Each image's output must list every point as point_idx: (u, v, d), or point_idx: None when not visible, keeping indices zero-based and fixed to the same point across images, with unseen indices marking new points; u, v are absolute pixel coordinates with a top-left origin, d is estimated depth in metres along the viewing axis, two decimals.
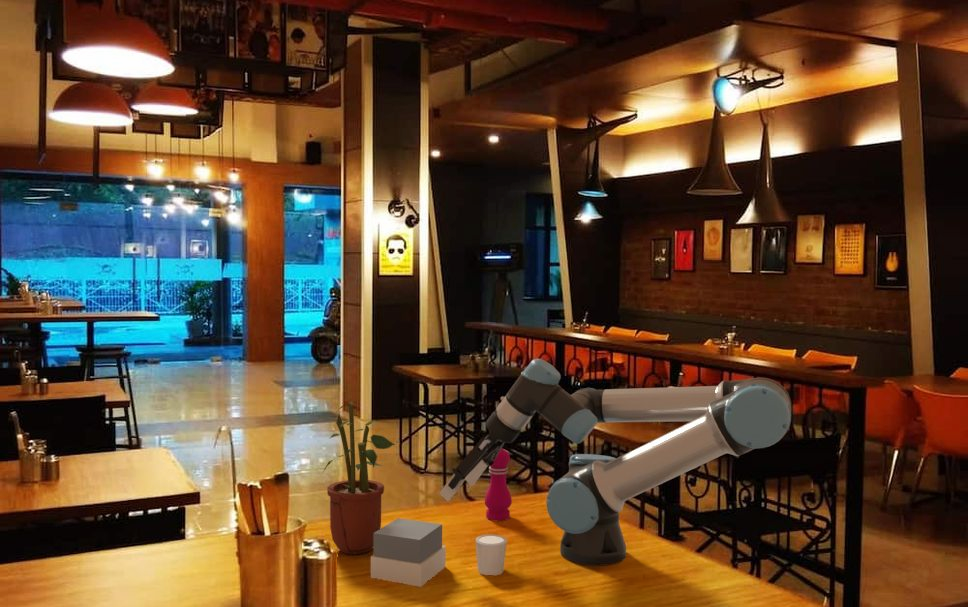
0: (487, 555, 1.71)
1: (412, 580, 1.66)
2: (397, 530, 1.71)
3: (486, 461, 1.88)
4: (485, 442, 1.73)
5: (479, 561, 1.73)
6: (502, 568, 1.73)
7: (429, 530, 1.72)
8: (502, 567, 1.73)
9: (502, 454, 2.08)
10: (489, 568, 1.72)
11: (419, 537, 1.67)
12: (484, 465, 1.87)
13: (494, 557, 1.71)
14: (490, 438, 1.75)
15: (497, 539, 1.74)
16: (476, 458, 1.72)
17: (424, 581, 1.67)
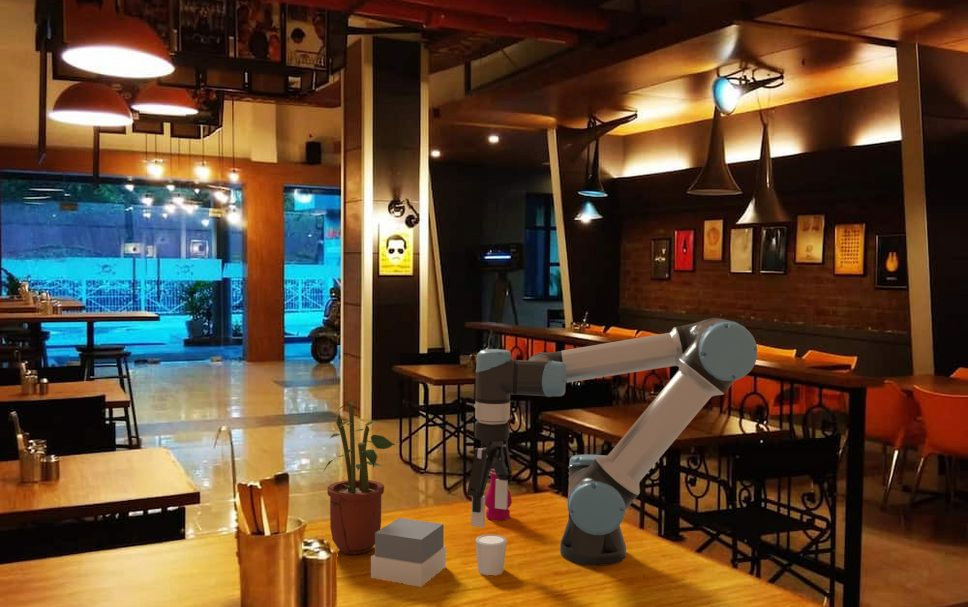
0: (487, 555, 1.71)
1: (412, 580, 1.66)
2: (398, 530, 1.71)
3: (504, 478, 1.80)
4: (480, 449, 1.67)
5: (479, 561, 1.73)
6: (502, 568, 1.73)
7: (430, 530, 1.72)
8: (502, 567, 1.73)
9: None
10: (489, 568, 1.72)
11: (420, 536, 1.67)
12: (504, 482, 1.79)
13: (494, 557, 1.71)
14: (484, 445, 1.70)
15: (497, 539, 1.74)
16: (481, 468, 1.66)
17: (424, 581, 1.67)
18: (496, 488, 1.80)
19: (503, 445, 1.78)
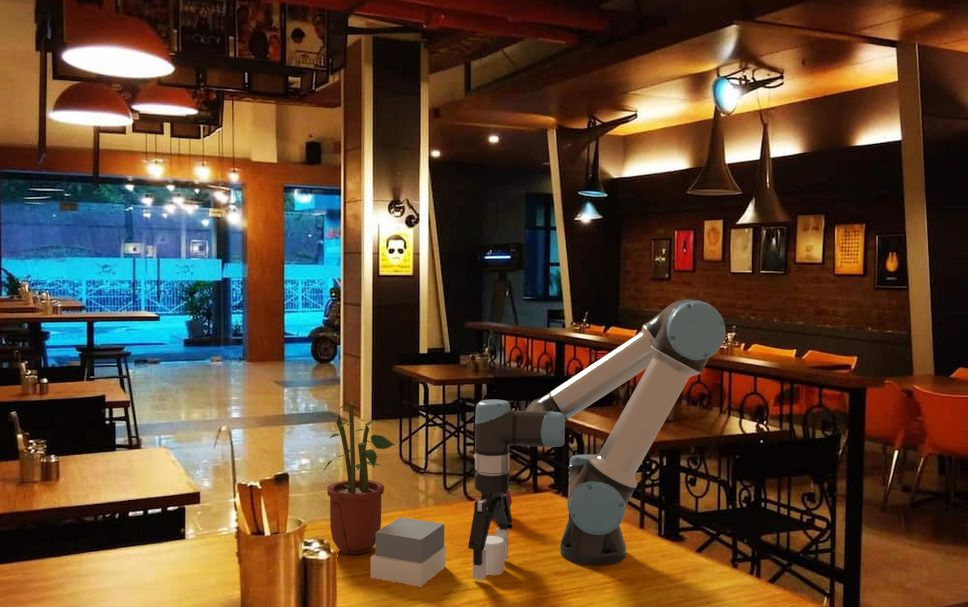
0: (487, 555, 1.71)
1: (411, 580, 1.66)
2: (399, 530, 1.72)
3: (504, 527, 1.80)
4: (480, 502, 1.68)
5: None
6: (502, 568, 1.73)
7: (431, 530, 1.72)
8: (502, 567, 1.73)
9: None
10: (489, 568, 1.72)
11: (420, 536, 1.68)
12: (504, 532, 1.80)
13: (494, 557, 1.71)
14: (484, 497, 1.70)
15: (497, 539, 1.74)
16: (481, 521, 1.66)
17: (424, 581, 1.67)
18: None
19: (503, 494, 1.78)
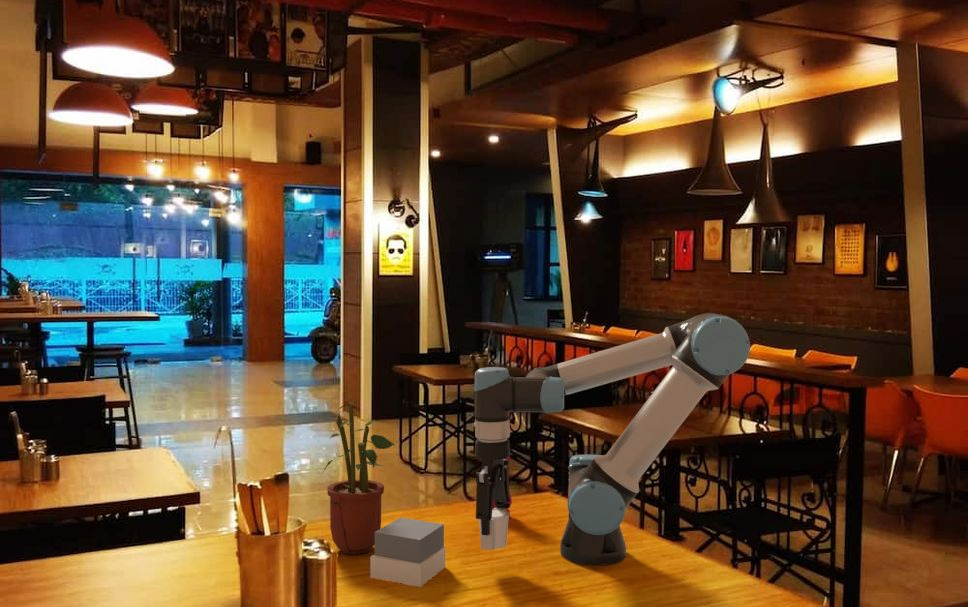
0: None
1: (411, 581, 1.66)
2: (398, 530, 1.72)
3: (501, 506, 1.77)
4: (481, 474, 1.67)
5: None
6: (505, 541, 1.73)
7: (430, 530, 1.72)
8: (505, 540, 1.73)
9: None
10: None
11: (419, 537, 1.67)
12: None
13: (497, 530, 1.71)
14: (485, 464, 1.70)
15: (499, 512, 1.74)
16: (485, 493, 1.67)
17: (424, 581, 1.67)
18: None
19: (504, 466, 1.78)
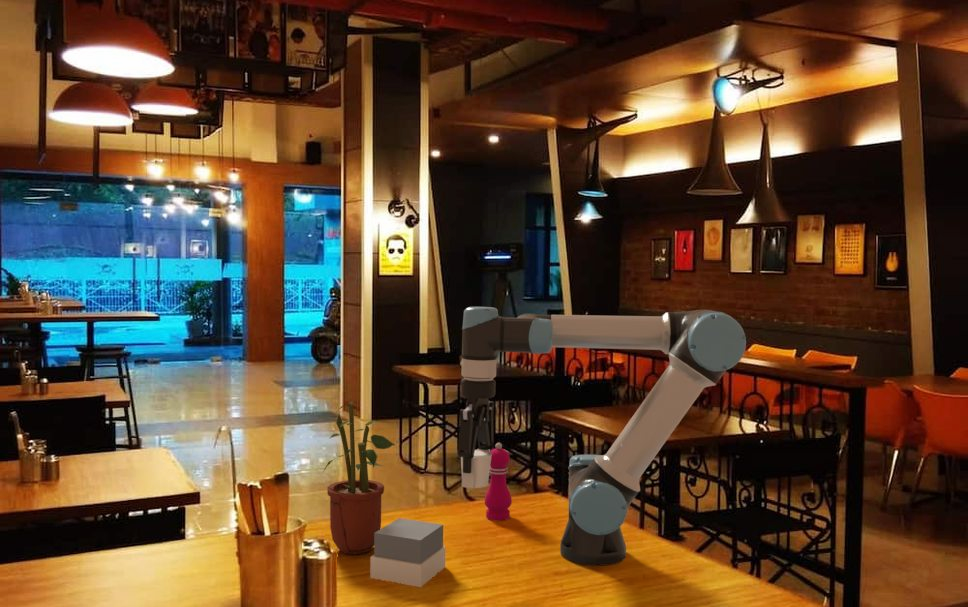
0: None
1: (411, 581, 1.66)
2: (398, 530, 1.71)
3: (485, 447, 1.77)
4: (465, 411, 1.66)
5: None
6: (486, 481, 1.72)
7: (430, 530, 1.71)
8: (486, 480, 1.72)
9: (502, 454, 2.08)
10: None
11: (419, 537, 1.67)
12: None
13: (479, 469, 1.70)
14: (470, 402, 1.69)
15: (482, 453, 1.73)
16: (468, 430, 1.66)
17: (424, 581, 1.67)
18: None
19: (489, 407, 1.77)
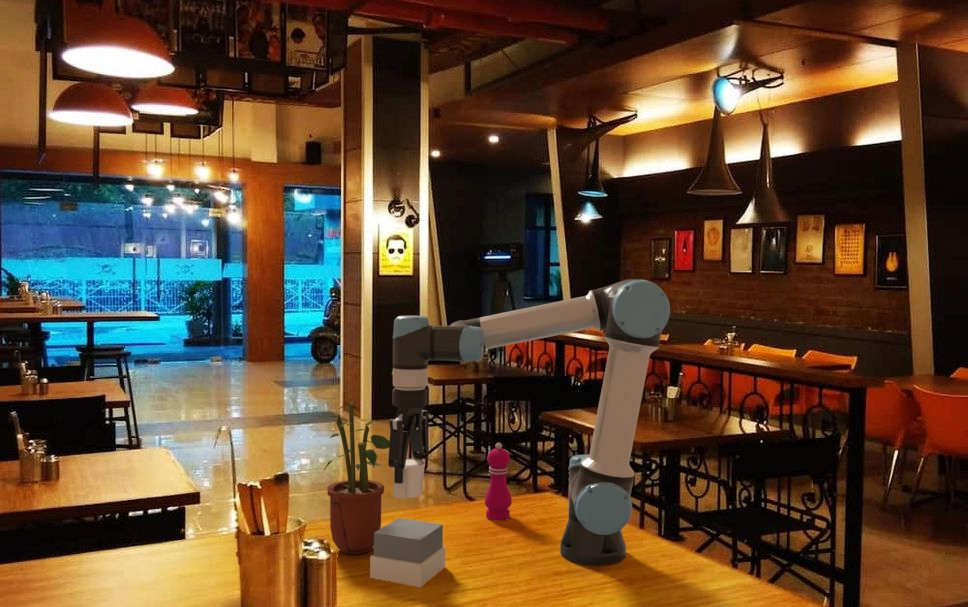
0: None
1: (411, 581, 1.66)
2: (397, 530, 1.71)
3: (419, 456, 1.76)
4: (395, 421, 1.65)
5: None
6: (419, 491, 1.71)
7: (429, 530, 1.72)
8: (419, 490, 1.71)
9: (502, 454, 2.08)
10: None
11: (419, 537, 1.67)
12: None
13: (411, 479, 1.69)
14: (401, 411, 1.68)
15: (415, 462, 1.72)
16: (398, 440, 1.65)
17: (423, 581, 1.67)
18: None
19: (423, 416, 1.76)
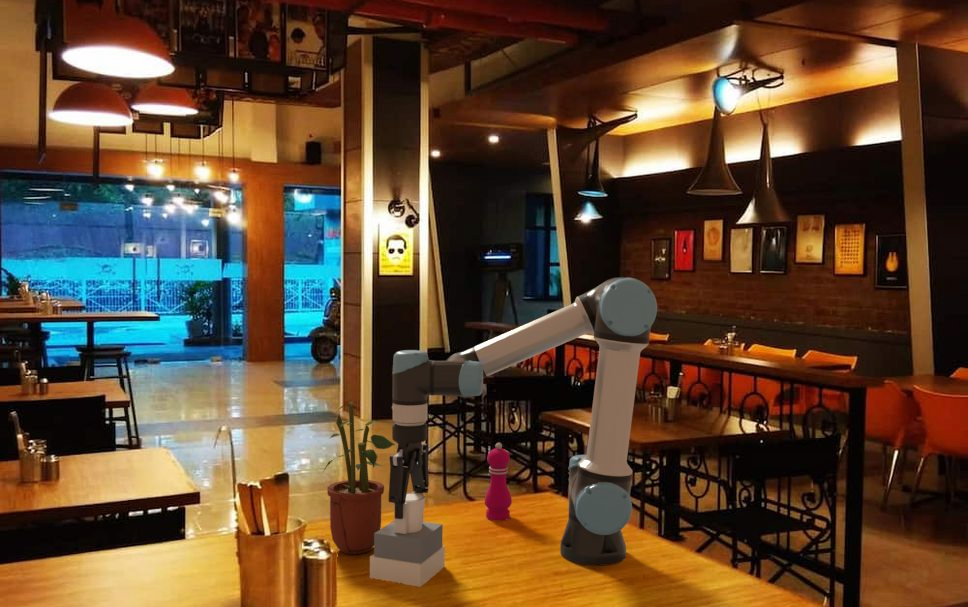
0: None
1: (411, 580, 1.66)
2: None
3: (419, 490, 1.76)
4: (395, 457, 1.66)
5: None
6: (420, 525, 1.71)
7: (429, 530, 1.72)
8: (420, 524, 1.71)
9: (502, 453, 2.08)
10: None
11: (420, 537, 1.67)
12: None
13: (411, 514, 1.69)
14: (401, 447, 1.68)
15: (415, 496, 1.73)
16: (398, 476, 1.66)
17: (423, 581, 1.67)
18: None
19: (423, 450, 1.76)
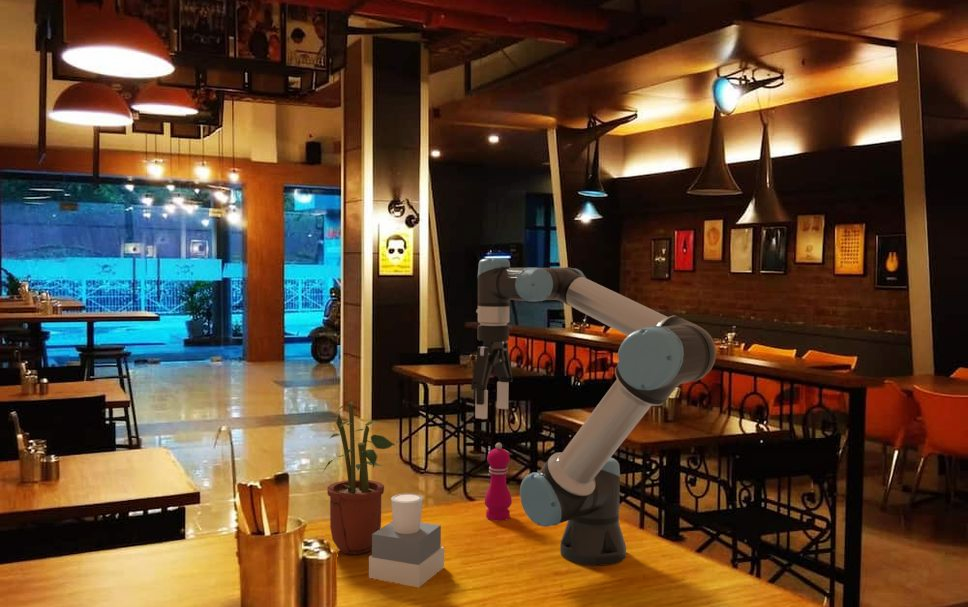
0: (402, 513, 1.69)
1: (409, 581, 1.66)
2: None
3: (505, 380, 1.95)
4: (482, 347, 1.82)
5: (394, 519, 1.70)
6: (418, 526, 1.71)
7: (427, 531, 1.71)
8: (418, 525, 1.71)
9: (502, 454, 2.08)
10: (404, 526, 1.69)
11: (418, 538, 1.67)
12: (505, 384, 1.94)
13: (409, 515, 1.69)
14: (486, 345, 1.85)
15: (413, 497, 1.72)
16: (483, 364, 1.81)
17: (422, 582, 1.67)
18: (498, 390, 1.95)
19: (504, 349, 1.93)
